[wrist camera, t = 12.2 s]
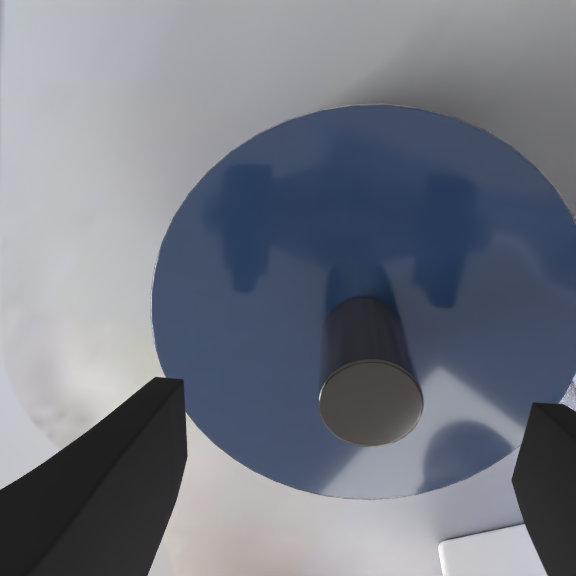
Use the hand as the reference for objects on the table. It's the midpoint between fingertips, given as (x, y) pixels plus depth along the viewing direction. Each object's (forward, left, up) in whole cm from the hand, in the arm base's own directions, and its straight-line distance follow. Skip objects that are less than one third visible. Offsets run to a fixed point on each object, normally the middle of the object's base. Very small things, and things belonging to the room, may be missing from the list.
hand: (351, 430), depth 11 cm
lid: (0, 0, -5) cm, 5 cm away
